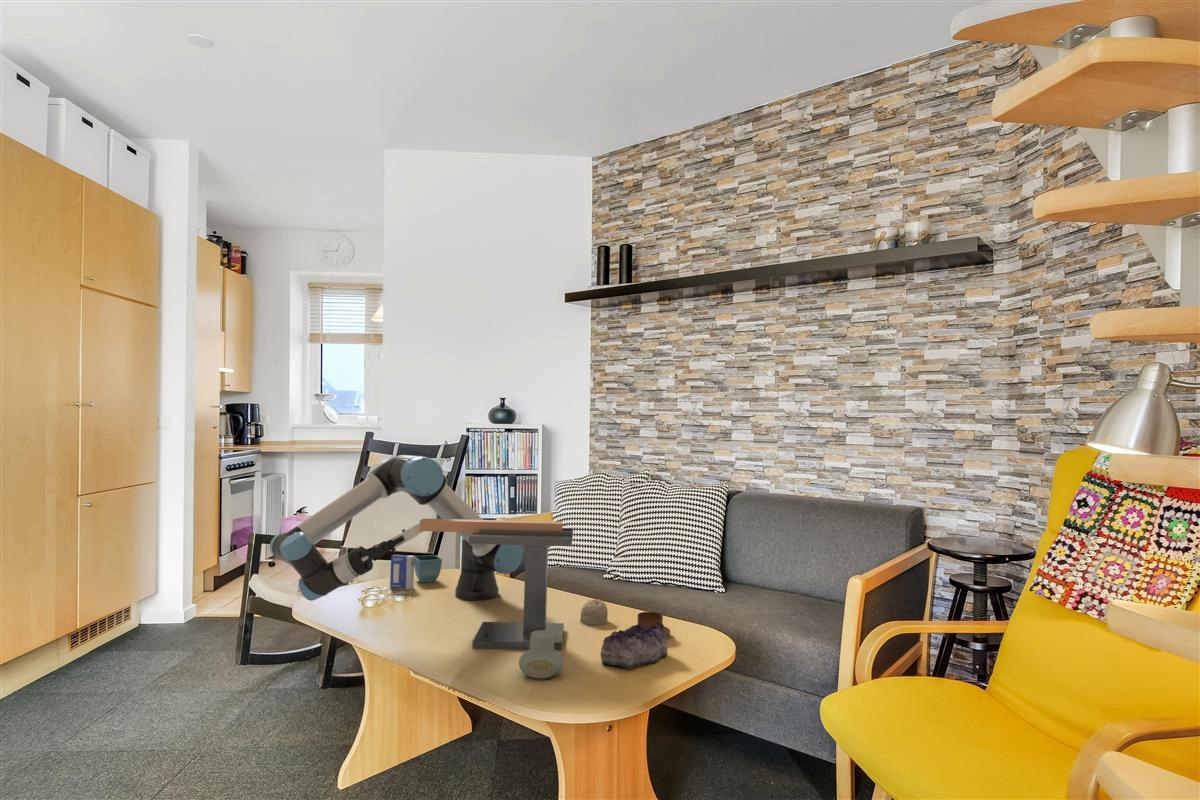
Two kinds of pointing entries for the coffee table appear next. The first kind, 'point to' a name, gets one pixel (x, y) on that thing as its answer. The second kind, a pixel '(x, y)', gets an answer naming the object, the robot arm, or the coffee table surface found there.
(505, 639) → the stand
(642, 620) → the cup and saucer
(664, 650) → the geode
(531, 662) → the air freshener
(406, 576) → the walkman
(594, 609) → the beige rough dome
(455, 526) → the block
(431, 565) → the flower pot
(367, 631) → the coffee table surface
